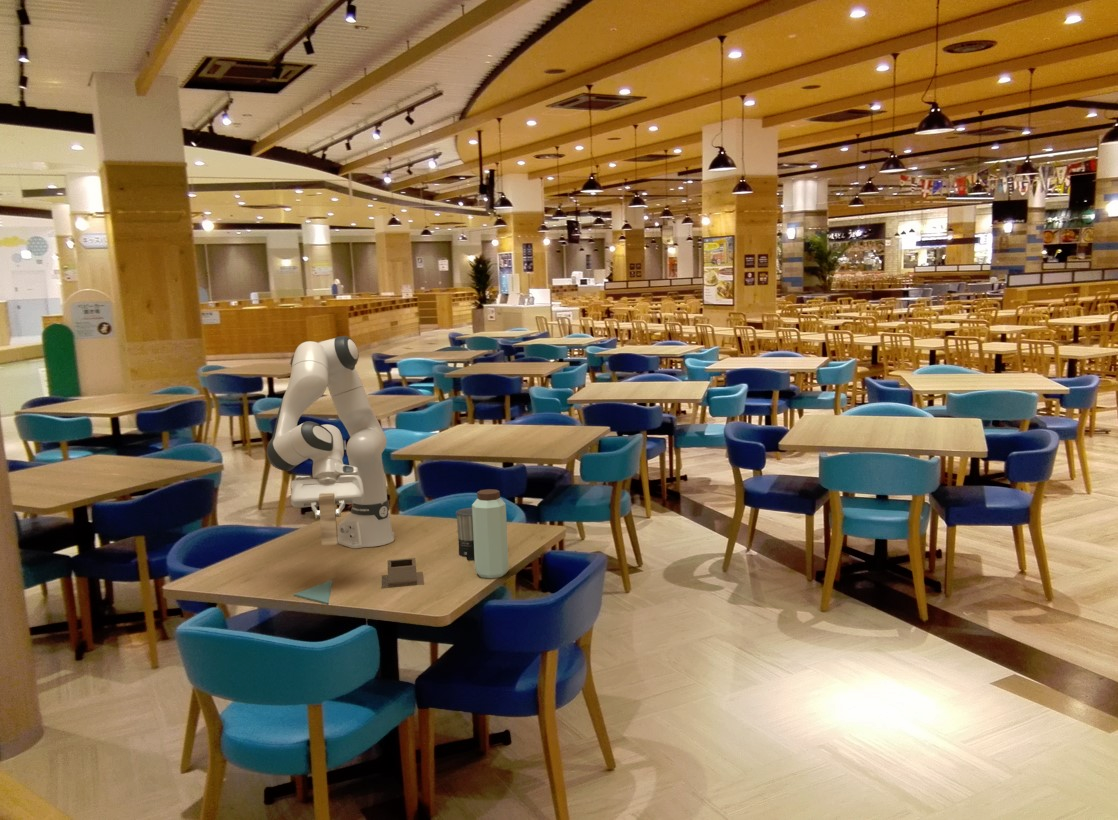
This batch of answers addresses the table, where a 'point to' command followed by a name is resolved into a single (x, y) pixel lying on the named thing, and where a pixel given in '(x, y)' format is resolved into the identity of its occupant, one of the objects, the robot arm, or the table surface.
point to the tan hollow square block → (402, 574)
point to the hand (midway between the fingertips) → (328, 516)
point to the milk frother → (465, 533)
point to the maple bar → (328, 519)
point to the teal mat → (317, 592)
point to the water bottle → (490, 534)
